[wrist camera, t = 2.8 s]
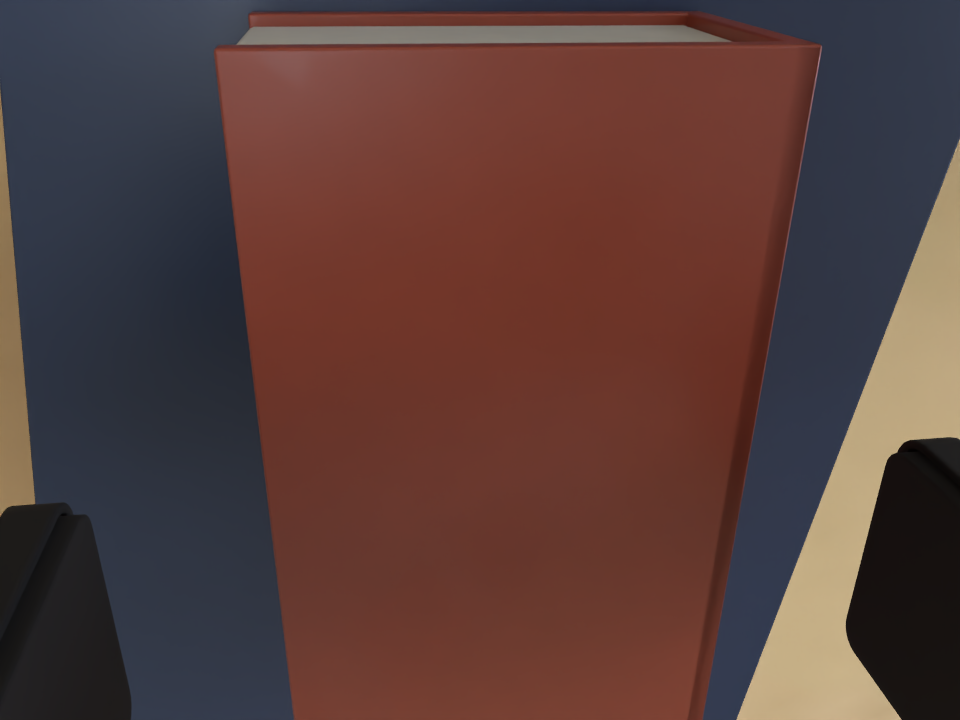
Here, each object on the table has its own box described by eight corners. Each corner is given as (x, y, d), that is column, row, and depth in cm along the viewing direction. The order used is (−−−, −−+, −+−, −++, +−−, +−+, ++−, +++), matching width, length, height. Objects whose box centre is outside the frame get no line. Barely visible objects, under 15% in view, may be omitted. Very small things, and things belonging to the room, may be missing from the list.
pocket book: (701, 10, 12) (824, 44, 9) (631, 608, 17) (695, 765, 14) (249, 11, 12) (213, 48, 8) (312, 636, 17) (303, 809, 13)
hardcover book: (989, -241, 14) (1118, -273, 11) (676, 690, 22) (714, 778, 20) (27, -463, 11) (-57, -561, 9) (92, 688, 20) (58, 789, 17)
